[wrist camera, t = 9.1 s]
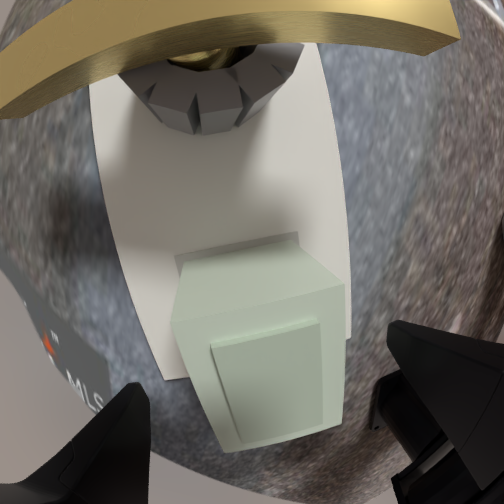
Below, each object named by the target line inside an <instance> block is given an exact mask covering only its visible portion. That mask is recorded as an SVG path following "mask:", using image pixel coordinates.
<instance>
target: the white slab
mask: <svg viewBox="0 0 504 504" xmlns="http://www.w3.org/2000/svg"><path fill="white" fill-rule="evenodd" d="M238 47H239V49H240V51H241V54H242V56H243V60H241V61H240V62H238V63H236V64H235V65H233V66H232V67H230V68H224V69H217V70H210V71H204V72H196V71H193V70H189V69H185V68H181V67H179V66H177V65H176V64H174V63H173V62H171V61H170V60H168V59H166V60H162V61H158V62H155V63H151V64H147V65H144V66H141V67H137V68H134V69H131V70H128V71H125V72H122V73H119V74H116V75H113V76H111V77H108V78H105V79H102V80H100V81H97V82H95V83H92V84H90V85H89V89H90V104H91V115H92V125H93V134H94V141H95V149H96V155H97V162H98V168H99V174H100V179H101V184H102V190H103V195H104V199H105V204H106V209H107V213H108V217H109V222H110V226H111V230H112V234H113V238H114V241H115V245H116V249H117V252H118V256H119V259H120V263H121V266H122V269H123V273H124V276H125V279H126V282H127V285H128V288H129V291H130V294H131V297H132V300H133V303H134V306H135V309H136V312H137V314H138V317H139V320H140V323H141V325H142V328H143V330H144V333H145V335H146V338H147V341H148V343H149V345H150V348H151V350H152V353H153V355H154V357H155V360H156V362H157V364H158V367H159V369H160V371H161V373H162V376H163V378H164V380H171V379H178V378H185V377H190V376H189V373H188V371H187V368H186V366H185V363H184V360H183V358H182V355H181V352H180V350H179V347H178V344H177V342H176V339H175V336H174V333H173V330H172V327H171V324H170V320H171V315H172V311H173V306H174V302H175V297H176V293H177V289H178V284H179V280H180V276H181V272H182V268H183V264H184V262H185V261H189V260H194V259H199V258H204V257H209V256H214V255H218V254H223V253H228V252H233V251H238V250H243V249H248V248H252V247H257V246H262V245H267V244H272V243H277V242H282V241H287V240H292V241H293V242H294V243H296V244H297V245H298V246H299V247H301V248H302V249H303V250H304V251H306V252H307V253H308V254H309V255H310V256H312V257H313V258H314V259H315V260H317V261H318V262H319V263H320V264H322V265H323V266H324V267H325V268H326V269H328V270H329V271H330V272H331V273H333V274H334V275H335V276H336V277H337V278H339V279H340V280H341V281H342V282H343V283H345V314H346V339H349V338H351V278H350V256H349V240H348V227H347V215H346V205H345V195H344V186H343V178H342V171H341V163H340V156H339V150H338V143H337V137H336V131H335V125H334V120H333V114H332V109H331V104H330V99H329V94H328V90H327V85H326V81H325V76H324V72H323V68H322V64H321V60H320V56H319V52H318V48H317V45H316V43H271V44H257V45H246V46H238Z"/></svg>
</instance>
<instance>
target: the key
mask: <svg viewBox="0 0 504 504" xmlns="http://www.w3.org/2000/svg"><path fill="white" fill-rule="evenodd" d="M458 40H461V38H460V34H459V30H458V27H457V23H456V20H455V16H454V13H453V10H452V7H451V4H450V1H449V0H73V1H71V2H69V3H68V4H66V5H64V6H63V7H61V8H59V9H58V10H56V11H55V12H53V13H52V14H50V15H48V16H47V17H45V18H44V19H43V20H41V21H40V22H38V23H37V24H35V25H34V26H33V27H31V28H30V29H29V30H27V31H26V32H25V33H23V34H22V35H21V36H20V37H18V38H17V39H16V40H15V41H13V42H12V43H11V44H10V45H9V46H7V47H6V48H5V49H4V50H3V51H2V52H1V53H0V120H2V119H13V118H24V117H26V116H27V115H29V114H31V113H32V112H34V111H36V110H38V109H40V108H41V107H43V106H45V105H47V104H49V103H51V102H53V101H55V100H57V99H59V98H61V97H63V96H65V95H67V94H69V93H72V92H74V91H76V90H78V89H80V88H83V87H85V86H88V85H90V84H92V83H95V82H97V81H100V80H102V79H105V78H108V77H111V76H113V75H116V74H119V73H122V72H125V71H128V70H131V69H134V68H137V67H141V66H144V65H147V64H151V63H155V62H158V61H162V60H166V59H168V60H170V61H171V62H173V63H174V64H176V65H177V66H179V67H181V68H185V69H189V70H193V71H196V72H204V71H210V70H217V69H224V68H230V67H232V66H233V65H235V64H236V63H238V62H240V61H241V60H243V56H242V54H241V51H240V49H239V47H238V46H246V45H257V44H271V43H335V44H349V45H360V46H368V47H376V48H383V49H390V50H395V51H401V52H406V53H411V54H416V55H420V56H426V55H428V54H430V53H432V52H434V51H436V50H438V49H441V48H443V47H445V46H447V45H449V44H451V43H454V42H456V41H458Z"/></svg>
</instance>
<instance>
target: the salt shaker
mask: <svg viewBox="0 0 504 504" xmlns="http://www.w3.org/2000/svg"><path fill="white" fill-rule="evenodd" d="M502 229H503V241H504V215H503V219H502Z"/></svg>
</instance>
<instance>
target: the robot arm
mask: <svg viewBox="0 0 504 504" xmlns="http://www.w3.org/2000/svg"><path fill="white" fill-rule="evenodd" d="M386 342H387V346H388V348H389V350H390V352H391V353H392V355H393V357H394V359H395V360H396V362H397V364H398V365H399V367H400V370H398V371H396V372H394V373H392V374H389V375H387V376H385V377H383V378H382V379H380V381H379V382H378V385H377V391H376V397H375V403H374V408H373V413H372V418H371V423H370V429H371V431H372V432H374V431H377V430H379V429H381V428H384V427H386V426H388V427H389V428H390V430H391V431H392V433H393V434H394V436H395V437H396V439H397V440H398V441H399V443H400V444H401V446H402V447H403V449H404V450H405V452H406V453H407V454H408V456H409V457H410V459H411V460H412V463H411V464H410V465H409V466H407V467H406V468H405V469H404V470H402V471H401V472H400V473H397V474H396V475H394V476H393V477H392V478H391V481H392V484H393V489H394V492H395V495H396V498H397V501H398V504H504V344H501V343H495V342H490V341H485V340H480V339H475V338H471V337H467V336H463V335H458V334H454V333H450V332H446V331H442V330H437V329H433V328H429V327H425V326H421V325H417V324H413V323H409V322H405V321H401V320H396V321H393V322H391V323H389V325H388V330H387V340H386ZM150 448H151V426H150V402H149V398H148V396H147V395H146V393H145V391H144V389H143V387H142V385H141V384H140V383H139V382H133V383H128V384H127V385H126V386H125V387H124V388H123V389H122V390H121V391H120V392H119V393H118V394H117V395H116V396H115V397H114V398H113V399H112V400H111V401H110V402H109V403H108V404H107V405H106V406H105V407H104V408H103V409H102V410H101V411H100V412H99V413H98V414H97V415H96V416H95V417H94V418H93V419H92V420H91V421H90V422H89V423H88V424H87V425H86V426H85V427H84V428H83V429H82V430H81V431H80V432H79V433H78V434H76V435H75V436H74V438H72V440H71V441H69V442H68V443H67V444H66V445H65V446H64V447H63V448H62V449H61V450H60V451H59V452H58V453H57V454H56V455H55V456H53V457H52V458H51V459H50V460H49V461H48V462H46V463H45V464H44V465H43V466H41V467H40V468H39V469H37V470H36V471H35V472H34V473H33V474H31V475H30V476H29V477H27V478H26V479H24V480H23V481H20V482H17V483H12V484H0V504H148V485H149V484H148V483H149V463H150Z"/></svg>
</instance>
